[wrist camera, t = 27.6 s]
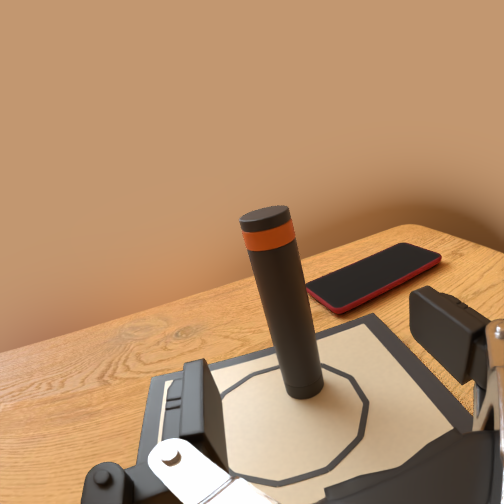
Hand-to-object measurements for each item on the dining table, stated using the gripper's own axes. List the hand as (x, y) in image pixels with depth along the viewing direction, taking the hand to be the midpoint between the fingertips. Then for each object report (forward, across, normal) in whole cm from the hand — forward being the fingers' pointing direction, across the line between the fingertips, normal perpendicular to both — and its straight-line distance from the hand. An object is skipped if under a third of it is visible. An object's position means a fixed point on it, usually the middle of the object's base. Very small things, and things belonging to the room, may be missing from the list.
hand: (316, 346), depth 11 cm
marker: (+7, 0, +8) cm, 11 cm away
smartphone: (+19, -12, +9) cm, 24 cm away
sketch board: (+5, +2, +9) cm, 10 cm away
